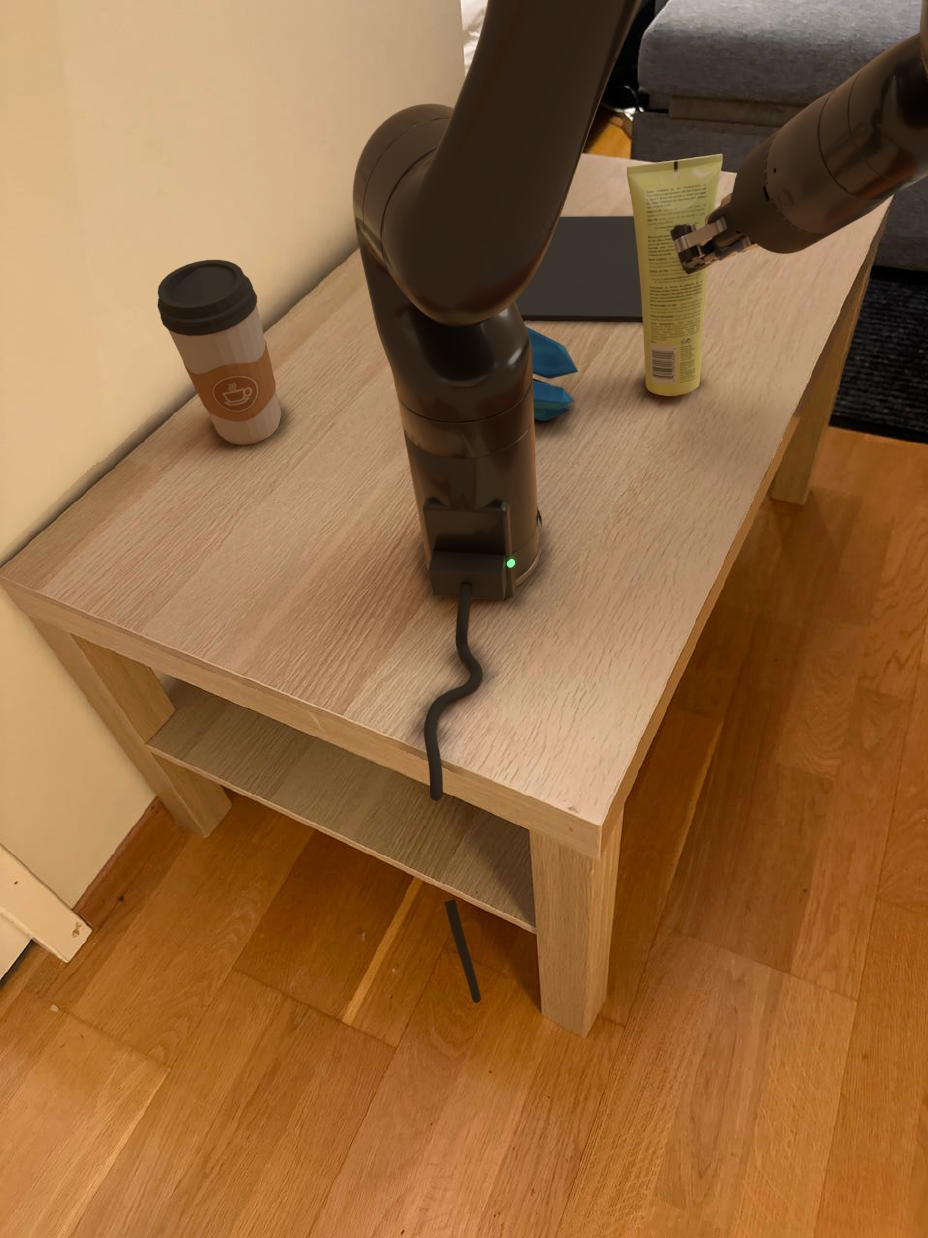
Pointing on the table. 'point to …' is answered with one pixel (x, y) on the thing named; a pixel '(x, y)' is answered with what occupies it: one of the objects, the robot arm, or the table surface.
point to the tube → (671, 267)
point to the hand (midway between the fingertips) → (689, 260)
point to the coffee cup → (222, 347)
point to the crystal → (549, 376)
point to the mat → (587, 273)
